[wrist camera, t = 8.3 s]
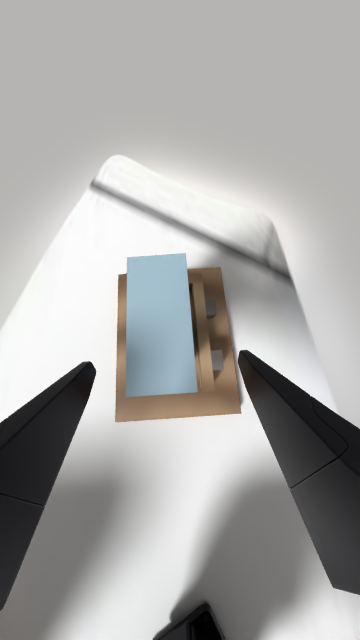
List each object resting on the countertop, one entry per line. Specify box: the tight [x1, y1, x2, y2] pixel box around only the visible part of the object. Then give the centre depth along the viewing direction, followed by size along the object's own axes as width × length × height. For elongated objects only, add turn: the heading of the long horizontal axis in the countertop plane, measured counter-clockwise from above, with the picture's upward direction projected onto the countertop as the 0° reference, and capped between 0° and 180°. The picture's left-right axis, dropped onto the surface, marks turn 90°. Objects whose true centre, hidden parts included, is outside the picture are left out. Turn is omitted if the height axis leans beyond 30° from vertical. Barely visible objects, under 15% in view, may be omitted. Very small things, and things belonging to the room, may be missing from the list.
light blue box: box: [126, 253, 198, 397], centre depth 13 cm, size 8×3×11 cm, turn 4°
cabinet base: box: [115, 267, 241, 422], centre depth 17 cm, size 18×14×3 cm
